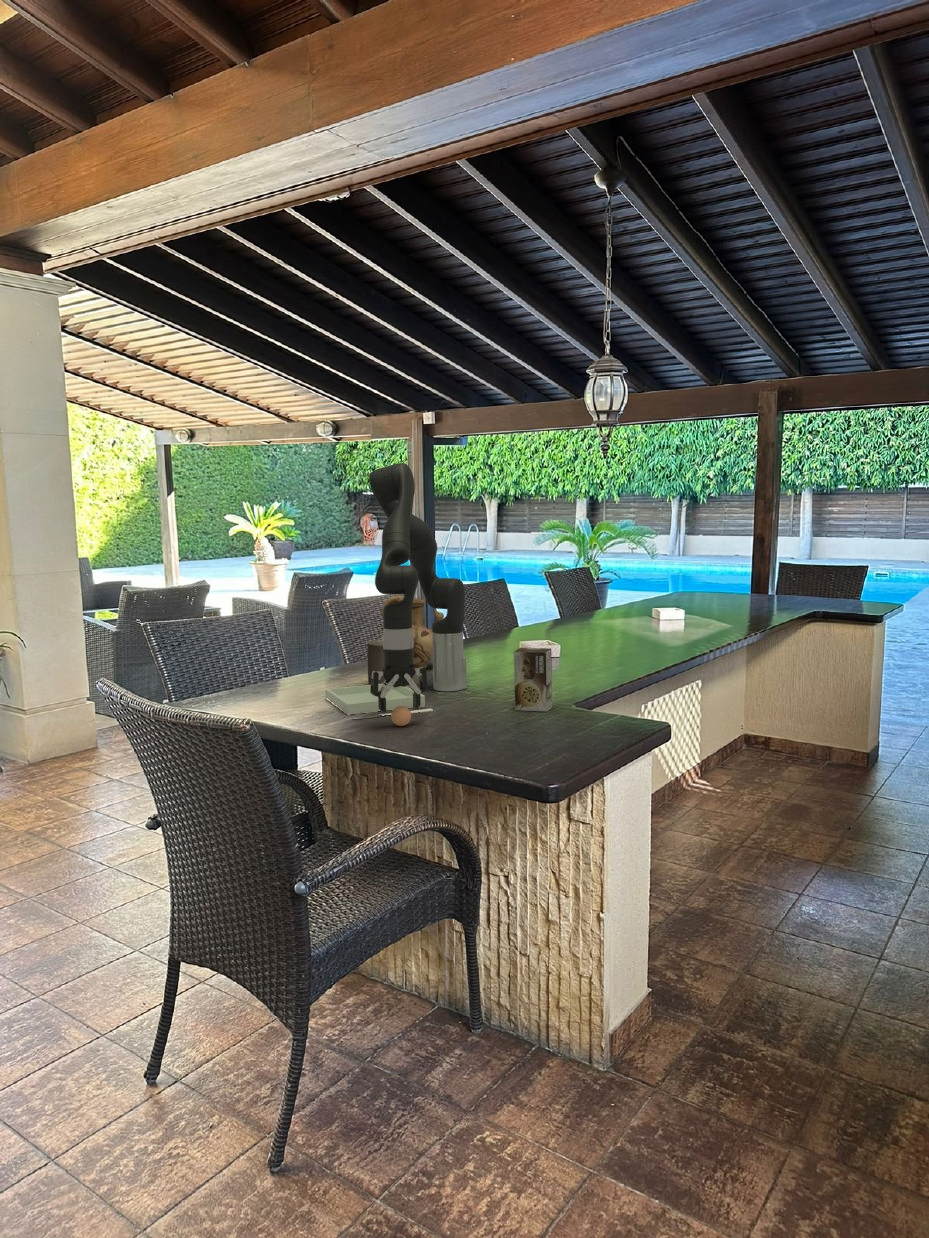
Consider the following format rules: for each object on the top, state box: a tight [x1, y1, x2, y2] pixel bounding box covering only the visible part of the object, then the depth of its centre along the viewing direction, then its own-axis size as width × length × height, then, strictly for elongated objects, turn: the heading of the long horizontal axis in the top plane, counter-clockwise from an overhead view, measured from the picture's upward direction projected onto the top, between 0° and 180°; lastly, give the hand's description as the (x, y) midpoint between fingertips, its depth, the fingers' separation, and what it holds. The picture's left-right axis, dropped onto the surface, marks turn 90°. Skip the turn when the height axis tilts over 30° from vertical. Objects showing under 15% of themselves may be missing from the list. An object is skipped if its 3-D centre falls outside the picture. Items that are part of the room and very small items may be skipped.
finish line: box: [380, 708, 434, 716], centre depth 232 cm, size 22×2×1 cm, turn 114°
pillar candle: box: [366, 637, 385, 685], centre depth 268 cm, size 10×10×15 cm
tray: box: [324, 684, 426, 714], centre depth 246 cm, size 22×22×3 cm
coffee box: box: [513, 647, 553, 713], centre depth 235 cm, size 9×6×16 cm
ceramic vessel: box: [381, 595, 445, 669], centre depth 296 cm, size 18×19×25 cm
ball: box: [390, 706, 412, 727], centre depth 220 cm, size 5×5×5 cm
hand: (399, 710), depth 219 cm, fingers open, 8 cm apart
